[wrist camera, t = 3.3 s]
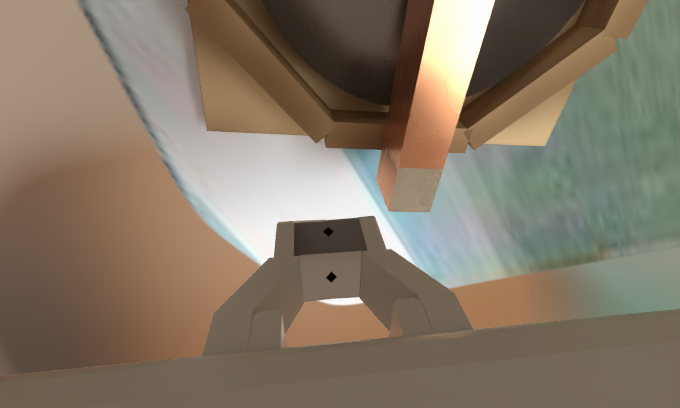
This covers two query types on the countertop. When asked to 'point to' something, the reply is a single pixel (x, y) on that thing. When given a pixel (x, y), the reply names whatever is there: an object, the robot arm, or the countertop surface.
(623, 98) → the countertop surface
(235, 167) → the countertop surface
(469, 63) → the dial
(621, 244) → the countertop surface
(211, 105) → the dial housing
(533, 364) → the robot arm
